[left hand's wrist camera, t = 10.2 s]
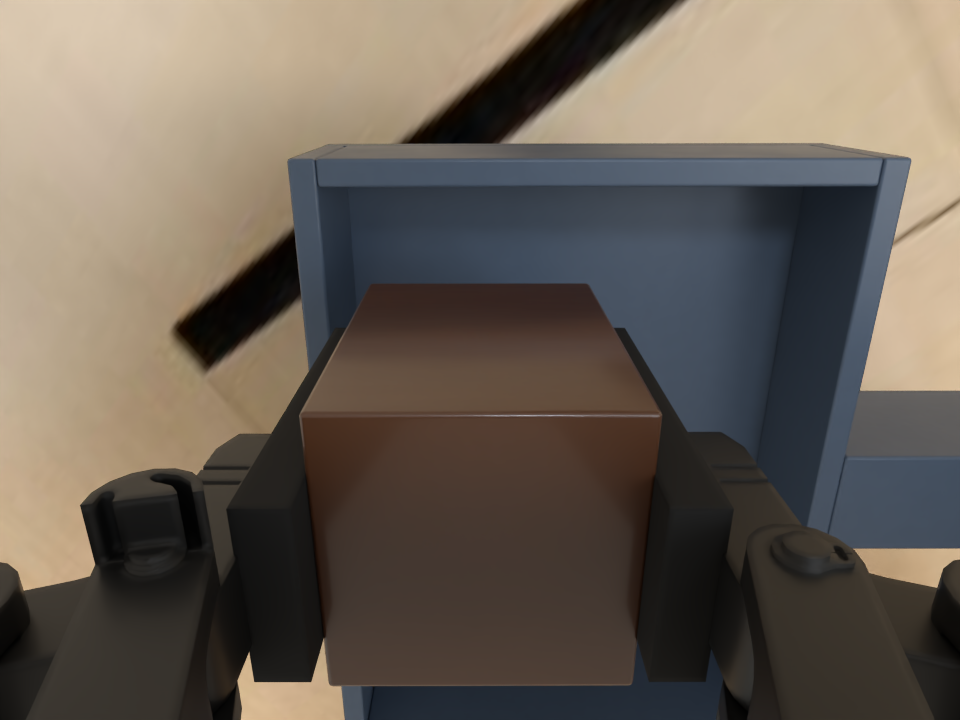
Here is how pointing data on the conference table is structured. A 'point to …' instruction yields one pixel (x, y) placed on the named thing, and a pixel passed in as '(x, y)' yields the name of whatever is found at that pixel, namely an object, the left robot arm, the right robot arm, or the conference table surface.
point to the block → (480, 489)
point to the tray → (662, 327)
